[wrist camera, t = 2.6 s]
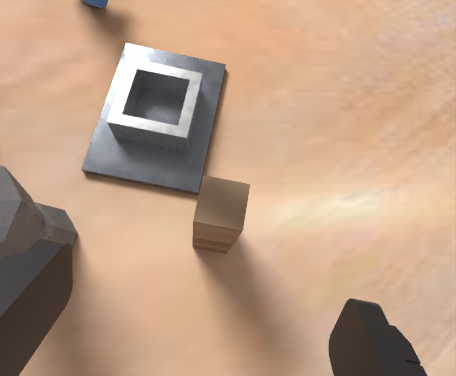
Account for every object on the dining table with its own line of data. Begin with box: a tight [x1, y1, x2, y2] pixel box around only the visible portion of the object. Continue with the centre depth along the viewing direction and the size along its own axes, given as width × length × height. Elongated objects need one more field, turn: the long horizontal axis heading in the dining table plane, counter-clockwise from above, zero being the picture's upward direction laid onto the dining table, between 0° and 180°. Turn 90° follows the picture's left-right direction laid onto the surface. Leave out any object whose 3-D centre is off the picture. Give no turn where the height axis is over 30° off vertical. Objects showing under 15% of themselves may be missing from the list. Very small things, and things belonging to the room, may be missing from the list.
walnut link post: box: [193, 175, 250, 253], centre depth 37 cm, size 4×4×15 cm
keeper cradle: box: [81, 43, 226, 195], centre depth 46 cm, size 22×16×5 cm
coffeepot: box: [0, 166, 77, 260], centre depth 32 cm, size 15×9×18 cm, turn 12°
